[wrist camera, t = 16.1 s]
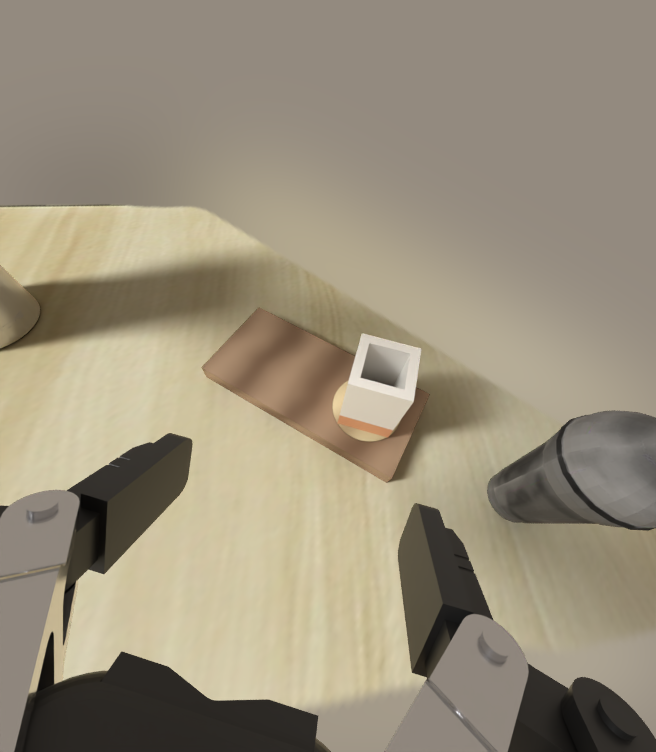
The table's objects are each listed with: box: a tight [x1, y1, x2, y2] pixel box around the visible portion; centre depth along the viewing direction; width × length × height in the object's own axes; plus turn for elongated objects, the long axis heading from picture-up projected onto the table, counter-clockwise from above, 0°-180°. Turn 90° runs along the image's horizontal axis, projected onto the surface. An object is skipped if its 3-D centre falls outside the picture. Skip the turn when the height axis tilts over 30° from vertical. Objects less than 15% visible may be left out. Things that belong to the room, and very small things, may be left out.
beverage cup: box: [487, 411, 656, 530], centre depth 21 cm, size 7×7×20 cm
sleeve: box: [338, 333, 421, 438], centre depth 27 cm, size 5×5×8 cm
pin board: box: [202, 308, 430, 483], centre depth 31 cm, size 22×10×7 cm, turn 60°
